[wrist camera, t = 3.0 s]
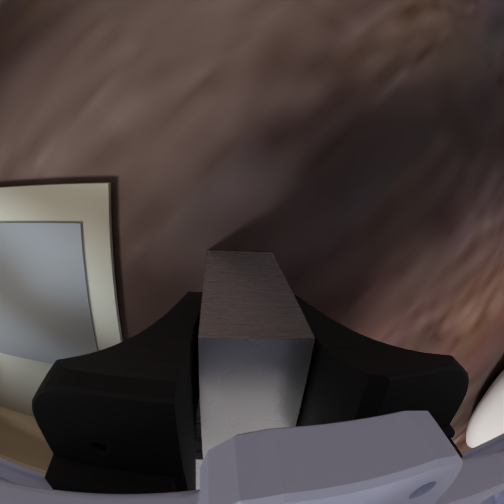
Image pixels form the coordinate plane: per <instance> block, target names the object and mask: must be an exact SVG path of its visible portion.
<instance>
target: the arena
mask: <svg viewBox="0 0 504 504" xmlns="http://www.w3.org/2000/svg"><path fill="white" fill-rule="evenodd" d="M121 342H123V339H122V332H121V325H120V317H119V309H118V301H117V292H116V281H115V270H114V257H113V240H112V216H111V182H105V183H65V184H42V185H24V186H9V187H0V458H2V459H5V460H7V461H10V462H12V463H15V464H18V465H20V466H23V467H26V468H29V469H31V470H34V471H37V472H40V473H43V474H46V472H47V469H48V467H49V464H50V462H51V459H52V456H53V452H52V450H51V449H50V447H49V445H48V443H47V441H46V440H45V438H44V436H43V434H42V432H41V430H40V428H39V426H38V424H37V422H36V420H35V417H34V415H33V412H32V399H33V397H34V395H35V393H36V392H37V390H38V388H39V386H40V385H41V383H42V381H43V380H44V378H45V376H46V375H47V373H48V371H49V370H50V368H51V367H52V366H53V364H54V363H55V361H56V360H58V359H65V358H70V357H75V356H80V355H85V354H89V353H93V352H96V351H99V350H103V349H106V348H108V347H111V346H114V345H116V344H118V343H121Z"/></svg>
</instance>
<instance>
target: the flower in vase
mask: <svg viewBox="0 0 504 504" xmlns="http://www.w3.org/2000/svg"><path fill="white" fill-rule="evenodd" d="M503 433H504V370H503V371H502V372H501V373H500V374H499V376H498V377H497V378H496V379H495V381H494V382H493V383H492V385H491V386H490V387H489V389H488V390H487V392H486V393H485V395H484V396H483V398H482V399H481V401H480V402H479V404H478V405H477V407H476V409H475V411H474V412H473V414H472V416H471V418H470V421H469V423H468V426H467V432H466V442H467V445H468V446H469V447H471V448H474V447H477V446H479V445H481V444H483V443H485V442H487V441H489V440H491V439H493V438H495V437H497V436H499V435H501V434H503Z"/></svg>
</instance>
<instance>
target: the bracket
mask: <svg viewBox="0 0 504 504" xmlns="http://www.w3.org/2000/svg"><path fill="white" fill-rule="evenodd" d="M314 341H315V337H314V335H313V333H312V331H311V329H310V327H309V325H308V323H307V321H306V318H305V316H304V314H303V312H302V310H301V308H300V306H299V304H298V302H297V300H296V298H295V296H294V294H293V292H292V290H291V288H290V286H289V284H288V282H287V280H286V278H285V276H284V274H283V272H282V270H281V268H280V266H279V264H278V262H277V260H276V258H275V256H274V254H273V252H249V251H222V250H207V256H206V265H205V274H204V284H203V293H202V303H201V313H200V324H199V335H198V353H199V389H200V397H199V403H198V410H197V423H196V490H200V467H201V465H202V462H203V460H204V458H205V456H206V454H207V452H208V450H209V449H211V448H213V447H215V446H217V445H219V444H221V443H222V442H224V441H226V440H228V439H230V438H231V437H233V436H235V435H237V434H242V433H248V432H253V431H259V430H264V429H269V428H285V427H295V426H296V422H297V418H298V414H299V410H300V406H301V402H302V397H303V393H304V388H305V384H306V379H307V375H308V370H309V365H310V361H311V356H312V351H313V346H314Z"/></svg>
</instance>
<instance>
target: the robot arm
mask: <svg viewBox="0 0 504 504" xmlns="http://www.w3.org/2000/svg"><path fill="white" fill-rule="evenodd" d="M202 293H203V292H188V293H187V294H186V295H185V296H184V297H183V298H182V299H181V300H180V301H179V302H178V303H177V304H176V305H175V306H174V307H173V308H172V309H171V310H170V311H169V312H168V313H167V314H166V315H164V316H163V317H162V318H161V319H159V320H158V321H157V322H156V323H154V324H153V325H152V326H150V327H149V328H147V329H146V330H144V331H142V332H141V333H139V334H137V335H135V336H134V337H131V338H129V339H127V340H125V341H123V342H121V343H118V344H116V345H114V346H111V347H108V348H106V349H103V350H99V351H96V352H93V353H89V354H85V355H80V356H75V357H70V358H65V359H58V360H56V361H55V363H54V364H53V366H52V367H51V368H50V370H49V371H48V373H47V375H46V376H45V378H44V380H43V381H42V383H41V385H40V386H39V388H38V390H37V392H36V393H35V395H34V397H33V399H32V412H33V415H34V417H35V420H36V422H37V424H38V426H39V428H40V430H41V432H42V434H43V436H44V438H45V440H46V441H47V443H48V445H49V447H50V449H51V450H52V452H53V456H52V459H51V462H50V464H49V467H48V469H47V472H46V474H43V473H40V472H37V471H34V470H31V469H29V468H26V467H23V466H20V465H18V464H15V463H12V462H10V461H7V460H5V459H2V458H0V504H504V433H503V434H501V435H499V436H497V437H495V438H493V439H491V440H489V441H487V442H485V443H483V444H481V445H479V446H477V447H474V448H472V449H470V450H468V451H465V452H463V453H460V451H459V450H458V448H457V447H456V445H455V444H454V442H453V441H452V439H451V438H452V437H453V436H454V434H455V431H454V430H453V428H452V427H451V425H450V422H451V421H452V419H453V417H454V416H455V414H456V412H457V410H458V409H459V407H460V405H461V403H462V401H463V399H464V397H465V395H466V392H467V389H468V383H469V378H468V373H467V372H466V371H465V369H464V368H463V367H462V366H461V365H460V364H459V363H458V362H457V361H456V360H455V359H454V358H453V357H452V356H449V355H440V354H431V353H423V352H417V351H412V350H407V349H403V348H399V347H395V346H392V345H388V344H385V343H382V342H379V341H376V340H373V339H371V338H368V337H366V336H364V335H361V334H359V333H357V332H355V331H352V330H350V329H348V328H346V327H345V326H343V325H341V324H339V323H337V322H336V321H334V320H332V319H331V318H329V317H327V316H326V315H324V314H323V313H321V312H320V311H318V310H317V309H315V308H314V307H312V306H311V305H309V304H308V303H306V302H305V301H304V300H302V299H300V298H299V297H297V296H295V295H294V296H295V298H296V300H297V302H298V304H299V306H300V308H301V310H302V312H303V314H304V316H305V318H306V321H307V323H308V325H309V327H310V329H311V331H312V333H313V335H314V337H315V341H314V346H313V351H312V356H311V361H310V365H309V370H308V375H307V379H306V384H305V388H304V393H303V397H302V402H301V406H300V410H299V414H298V418H297V422H296V426H295V427H285V428H269V429H264V430H259V431H253V432H248V433H242V434H237V435H235V436H233V437H231V438H230V439H228V440H226V441H224V442H222V443H221V444H219V445H217V446H215V447H213V448H211V449H209V450H208V452H207V454H206V456H205V458H204V460H203V462H202V465H201V467H200V490H196V423H197V410H198V403H199V397H200V389H199V353H198V335H199V324H200V313H201V303H202Z"/></svg>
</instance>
